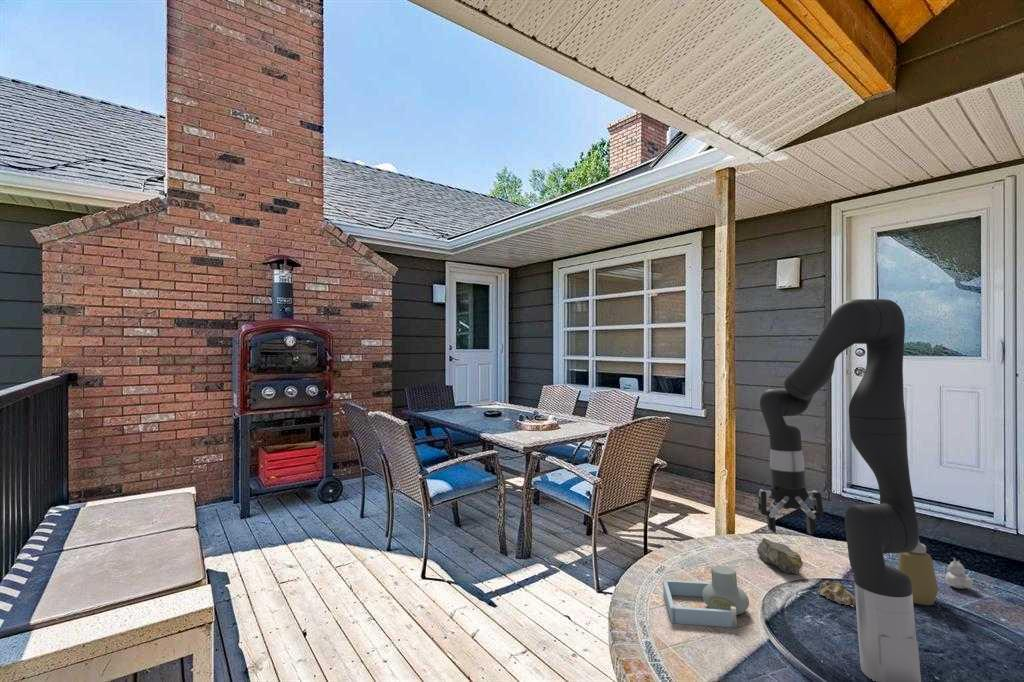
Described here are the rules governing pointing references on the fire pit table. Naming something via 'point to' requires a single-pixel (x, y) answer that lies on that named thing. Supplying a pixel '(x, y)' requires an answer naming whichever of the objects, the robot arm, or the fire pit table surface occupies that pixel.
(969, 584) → the rubber duck
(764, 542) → the rock
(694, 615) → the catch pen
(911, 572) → the squeeze bottle
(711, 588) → the air freshener
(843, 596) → the mineral rock
